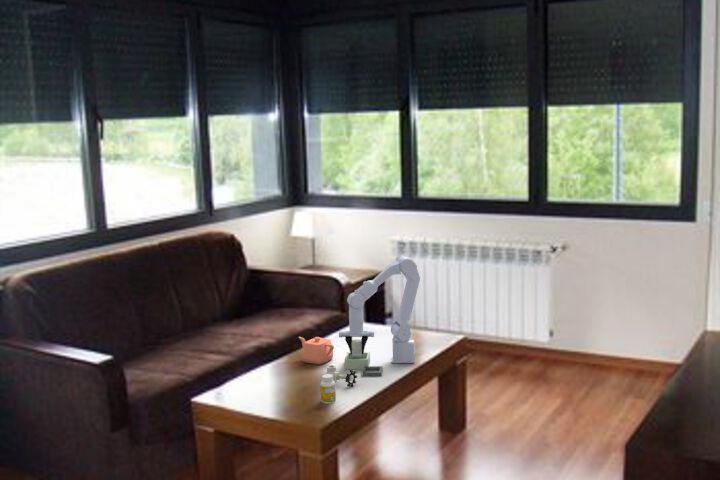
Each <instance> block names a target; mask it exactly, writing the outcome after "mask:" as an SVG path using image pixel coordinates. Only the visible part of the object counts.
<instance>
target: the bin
mask: <svg viewBox="0 0 720 480" xmlns="http://www.w3.org/2000/svg"><path fill="white" fill-rule="evenodd" d="M370 354H371V352H370V351H367V352H365V351H364V354H363V359H352V354H351V353H350V351H349V352H348V351H347V352H346V354H345V357H344V369H345V370H363V368H364V366H370V363H371V355H370Z"/></svg>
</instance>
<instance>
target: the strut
mask: <svg viewBox="0 0 720 480" xmlns="http://www.w3.org/2000/svg"><path fill="white" fill-rule="evenodd" d="M361 339H362V338H361ZM361 339H352V359H363V354H362V341H361Z"/></svg>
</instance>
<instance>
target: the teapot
mask: <svg viewBox="0 0 720 480" xmlns="http://www.w3.org/2000/svg"><path fill="white" fill-rule="evenodd" d="M298 338H299V340H300V341H301V345H302V361H303V363H307V364H308V363H309V364H311V365H321V364H325V363H327V362H329V361H330V360H332V359H333V357H334V349H335V347H334V345H333V343H332V341H331V339H330V338H329V339H328V338H323V337H319V336H315V337H313V338H311V339H308V340H306V339H305V338H304V337H302V336H298Z"/></svg>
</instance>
